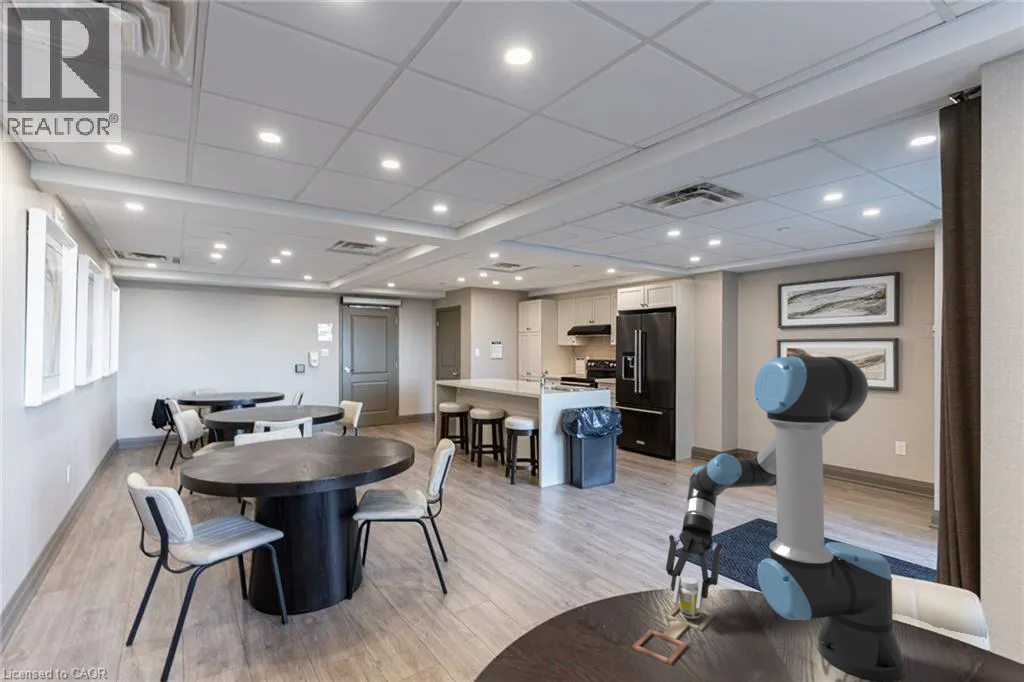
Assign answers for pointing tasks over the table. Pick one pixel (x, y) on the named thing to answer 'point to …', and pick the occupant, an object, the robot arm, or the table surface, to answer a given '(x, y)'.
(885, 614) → the robot arm
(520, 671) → the table surface
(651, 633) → the linked wooden frames
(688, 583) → the supplement bottle
